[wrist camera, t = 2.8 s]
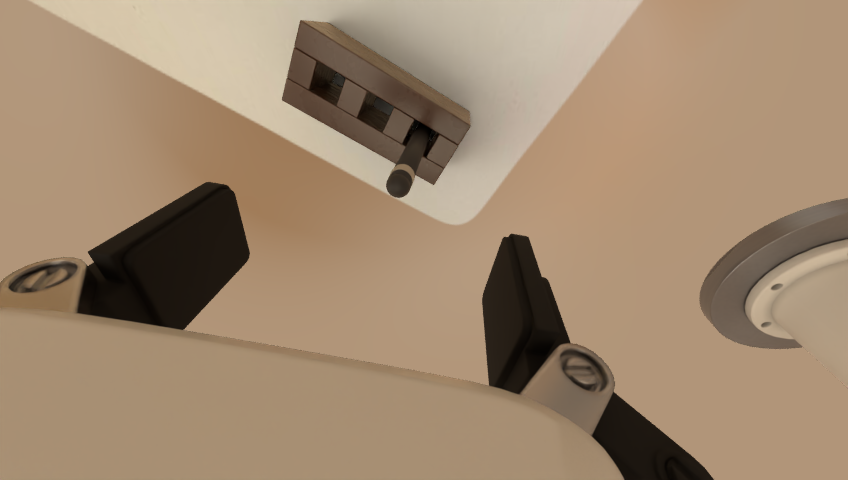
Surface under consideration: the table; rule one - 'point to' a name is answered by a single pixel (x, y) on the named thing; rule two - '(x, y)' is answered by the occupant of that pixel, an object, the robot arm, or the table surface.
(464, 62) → the table surface
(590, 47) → the table surface
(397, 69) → the pen stand
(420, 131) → the stylus
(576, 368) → the robot arm
